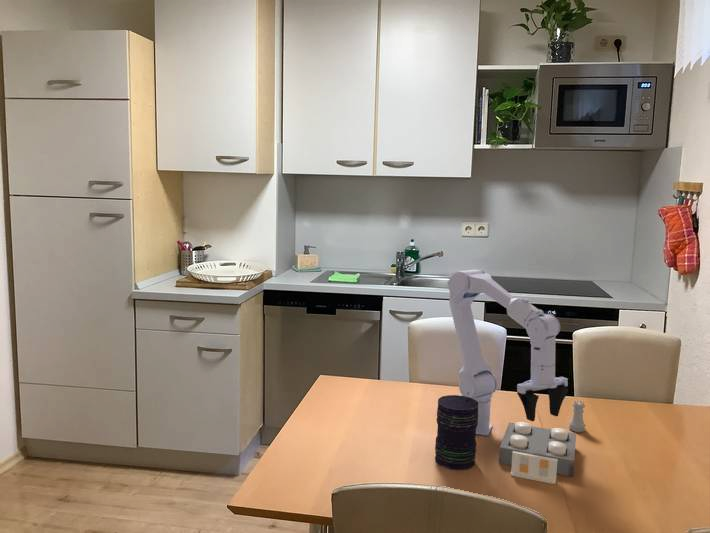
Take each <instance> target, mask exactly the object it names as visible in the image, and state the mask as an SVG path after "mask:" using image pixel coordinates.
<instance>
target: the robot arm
mask: <svg viewBox="0 0 710 533" xmlns="http://www.w3.org/2000/svg"><path fill="white" fill-rule="evenodd" d="M447 285H448V290H449V298H448V299H449V300H448V301H449V303H448V304H449V308H450V311H451V316H452V320H453V325H454V330H455V333H456V337H457V341H458V342H457V343H458V345H459V350H460V354H461V358H462V363H463V366H462V368H460V371H459V373H458V377H459V382H458V383H459V384H458V389H459V393H460V394H458V395H459V396H466V397H469V398H472V399H474V400H476V401H477V402H478V424H477V428H476V435H479V436H489V434H490V432H491V430H492V427H493V424H492V423H490V421H491V420H490V418H491V407H492V405H491V403H492V400H491V399H492V398H493V394H495V393H496V391H497V389H498V380H497V377H496V376H495V374H494V373H493V370H492V366H490V364H488V362H485V360H484V357H483V353H482V349H481V346H480V340H479V335H478V331H477V328H476V324H475V323H476V322H475V319H474V315H473V310H472V304H473V302H474V300H475V299H476V298H477V297H479V295H480V294H483V295H486V296H487V297H488V298H490V299H492V300H493V301H494V302H496V303H498V304H499V305H501V306H502V307H504V308H506V314H507V316H509V317H510V318H511V319H512V320H514V321H515V322H516V323H517V324H519V325H520V326H522V327H523V328H524V329H525V331H526V333H527V335H528V338H529V344H530V346H531V347H530V379H529V380H526V381H524V382H522V383H517V385H516V388H517V389H516V393H517V396H518V397H519V399H520V402H521V404H522V406H523V408H524V414H525V417H526V420H528V421H529V422H535V419H536V412H537V410H536V408H537V404H538V400H539V398H540V396H539V395H538V394H535V392H534V391H541V390H547V394H548V400H549V402H548V404H549V413H550V415H551V416H554V417H559V414H560V411H561V407H562V405H563V401H564V400H565V398H566V396H567V394H568V393H569V389H568V386H569V385H568V384H569V382H568V380H569V378H567V377H564V376H559V377H557V376H556V339H557V338H556V336H557V335H559V333H560V332H561V324H560V321H559V319H558V318H557V317H556V316H555V314H552V313H545V312H544V311H543V310H542V309H540V308H537V307H536V306H534V305H533V304H531V302H530V299H528V298H526V297H514V296H513V295H512V294H511V293H510V292H509V291H507V290H506V289H505V288H504V287H503V286H502V285H500V284H499V283H498V282H496V281H495V279H493V278H492V276H491V274H489V273H487V272H486V271H485V270H484V269H481V268H475V269H470V270H456V271H454V272H453V273H452V274H451V275H450V277H449V279H448V281H447Z"/></svg>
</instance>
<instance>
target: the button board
mask: <svg viewBox="0 0 710 533" xmlns="http://www.w3.org/2000/svg"><path fill="white" fill-rule="evenodd" d="M515 423H516V422H515ZM515 423H514V422H508V424H507V427H506V429H505V433H504V434H503V437H502V440H501V443H500V445H499V453H498V464H503V465H509V466H512V452H513V451H515V452H521V453H526V454H532V455H537V456H542V457H548V458H553V459H558V461H557V474H556V475H561V476H565V477H567V476H568V477H571V478H573V475H574V466H575V456H576V455H575V454H576V453H575V452H576V443H577V442H576V441H577V433H576V432H575V433H574V432H570V431H568V438H567V441H561V440H555V439H551V429H552V428H551V429H550V428H546V427H545V428H544V427H538V426H532V425H531V435H526V434H520V433H515ZM512 435H522V436H525V437H526V438H527V449H523V448H517V447H512V446H510V439H511V436H512ZM552 441H557V442H562V443H564V444H565V445H566V456H562V455H556V454H551V453H548V447H549V442H552Z"/></svg>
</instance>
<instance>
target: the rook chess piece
mask: <svg viewBox="0 0 710 533" xmlns="http://www.w3.org/2000/svg"><path fill="white" fill-rule="evenodd" d="M584 403H585V402H584V401H582V400H579V399H578V400H574V401H573V403H572V407H573V408H572V409H573V410H572V411H573V413H572V414H573V415H572V418H571V420H570V421H569V423H568V424H569V425H568V428H569V430H570V431H571V432H573V433H574V432H575V433H584V432H585V431H586V423H585V421H584V417H583V416H584V414H583V413H584V412H585V410H584V408H585V407H586V405H585V404H584Z"/></svg>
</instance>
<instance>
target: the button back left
mask: <svg viewBox="0 0 710 533" xmlns="http://www.w3.org/2000/svg"><path fill="white" fill-rule="evenodd" d="M531 426H532V425H531V424H530V423H528V422H525V421H517V422H515V433H520V434H526V435H531Z"/></svg>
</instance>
